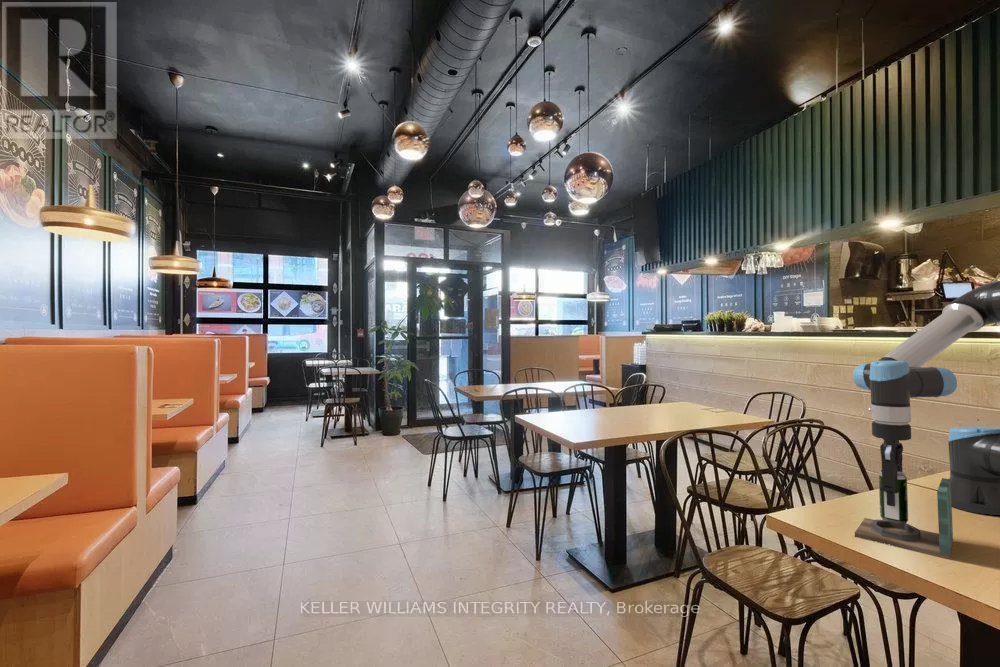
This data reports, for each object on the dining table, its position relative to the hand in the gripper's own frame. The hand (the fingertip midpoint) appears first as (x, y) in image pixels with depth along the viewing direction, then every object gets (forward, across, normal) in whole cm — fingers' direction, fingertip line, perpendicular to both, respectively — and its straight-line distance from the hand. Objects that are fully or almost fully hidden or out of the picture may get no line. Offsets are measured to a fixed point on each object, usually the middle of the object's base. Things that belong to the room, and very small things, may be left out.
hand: (894, 514), depth 114 cm
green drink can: (+2, 0, 0) cm, 2 cm away
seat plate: (+6, 0, +2) cm, 6 cm away
